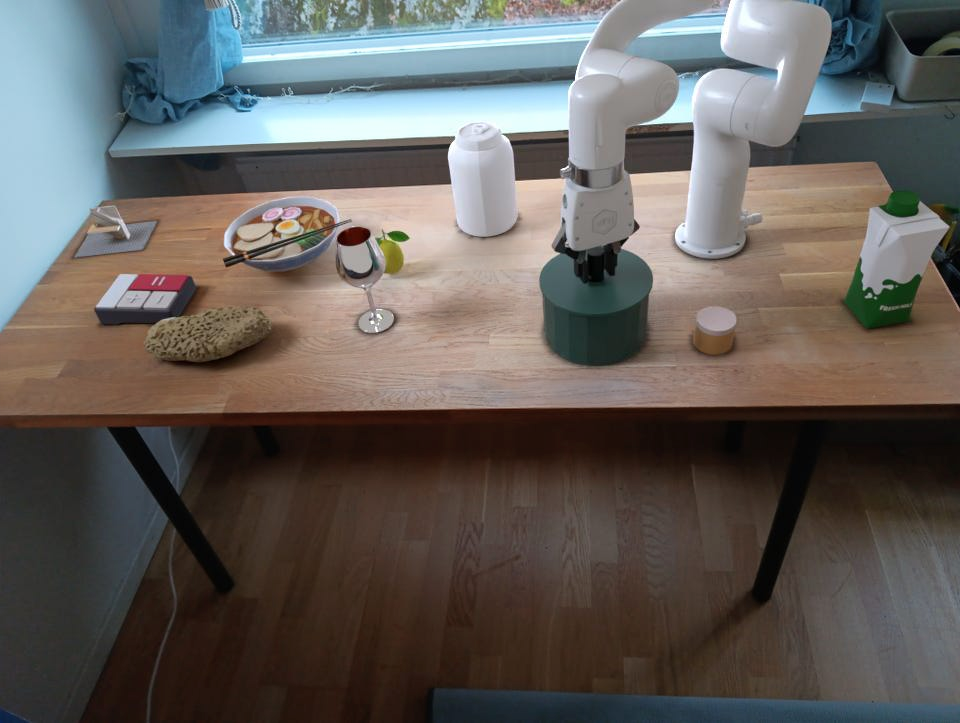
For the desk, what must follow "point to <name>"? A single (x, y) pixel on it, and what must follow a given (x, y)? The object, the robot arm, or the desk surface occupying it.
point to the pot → (595, 334)
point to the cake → (714, 330)
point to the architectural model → (113, 234)
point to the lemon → (392, 250)
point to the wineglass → (363, 272)
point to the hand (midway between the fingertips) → (595, 274)
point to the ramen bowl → (282, 233)
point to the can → (483, 179)
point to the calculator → (145, 298)
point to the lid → (596, 284)
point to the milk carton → (893, 259)
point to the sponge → (207, 334)
